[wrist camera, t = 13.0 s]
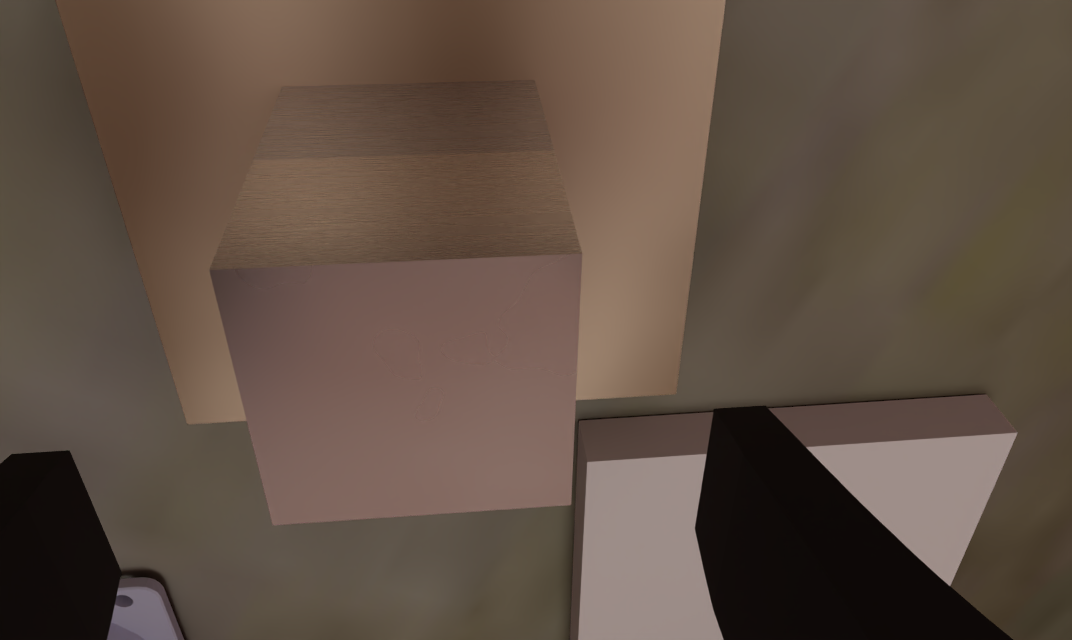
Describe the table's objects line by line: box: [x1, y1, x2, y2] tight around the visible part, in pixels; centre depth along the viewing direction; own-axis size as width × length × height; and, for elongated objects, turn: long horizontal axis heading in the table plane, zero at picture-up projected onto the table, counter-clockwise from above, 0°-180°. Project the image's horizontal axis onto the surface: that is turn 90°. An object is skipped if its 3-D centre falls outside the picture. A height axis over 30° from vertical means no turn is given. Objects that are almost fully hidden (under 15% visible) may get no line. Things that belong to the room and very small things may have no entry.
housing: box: [209, 80, 582, 525], centre depth 14 cm, size 4×4×6 cm
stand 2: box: [570, 394, 1017, 640], centre depth 25 cm, size 11×11×2 cm
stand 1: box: [55, 0, 726, 425], centre depth 17 cm, size 11×11×2 cm
